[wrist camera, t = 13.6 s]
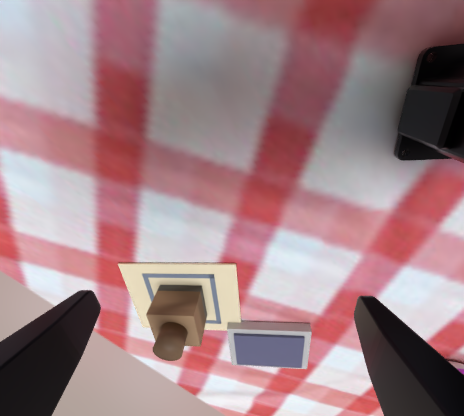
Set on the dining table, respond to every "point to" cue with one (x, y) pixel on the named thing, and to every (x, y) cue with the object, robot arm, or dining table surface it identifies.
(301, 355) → the ink pad
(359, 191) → the dining table surface
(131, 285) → the sheet
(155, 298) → the stamp
